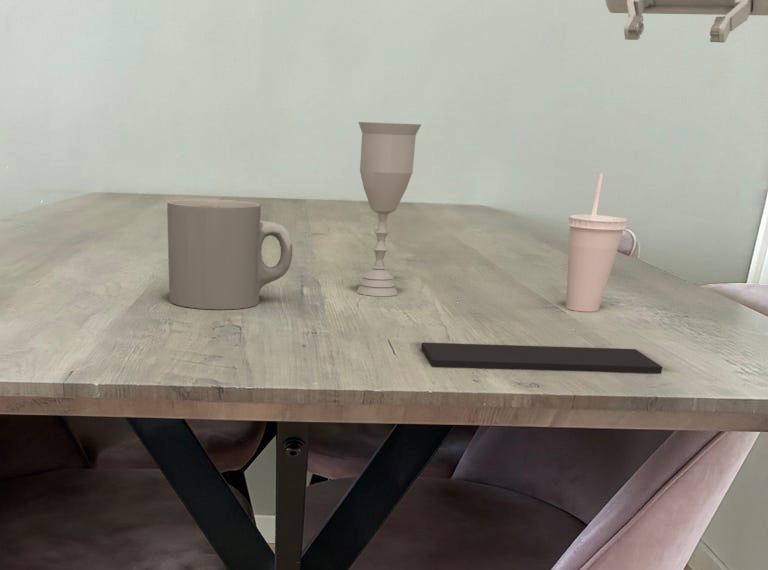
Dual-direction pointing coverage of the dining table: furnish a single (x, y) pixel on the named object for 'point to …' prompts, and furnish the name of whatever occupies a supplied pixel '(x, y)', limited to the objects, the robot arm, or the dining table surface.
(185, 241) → the coffee mug
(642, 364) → the edge strip
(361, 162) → the chalice
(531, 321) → the dining table surface
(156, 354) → the dining table surface
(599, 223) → the smoothie
